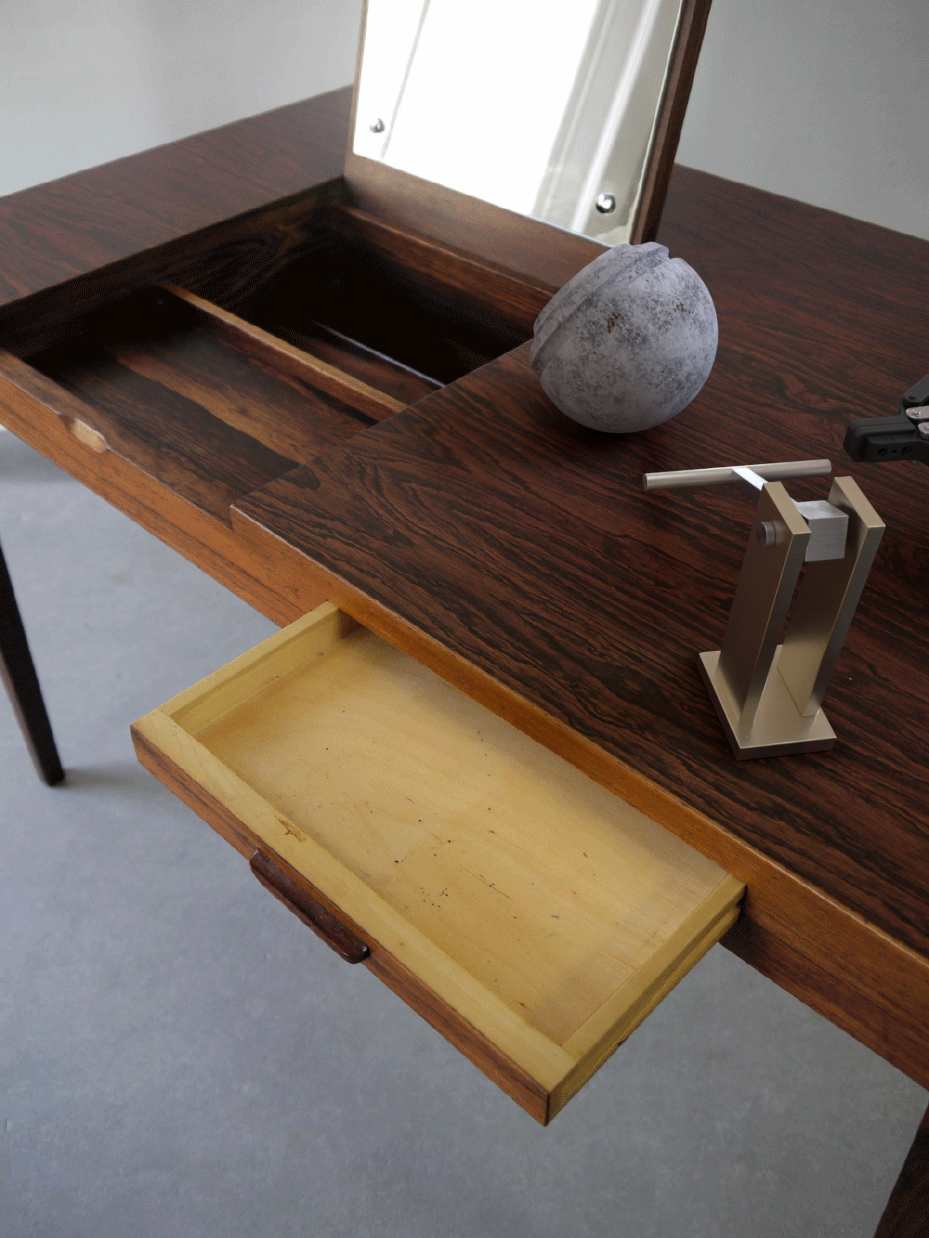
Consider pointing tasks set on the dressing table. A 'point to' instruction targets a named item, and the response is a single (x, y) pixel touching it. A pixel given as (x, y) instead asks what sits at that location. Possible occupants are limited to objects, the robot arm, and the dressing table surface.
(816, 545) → the tap lever
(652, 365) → the decorative orb
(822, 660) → the bracket
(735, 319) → the dressing table surface
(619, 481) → the dressing table surface
